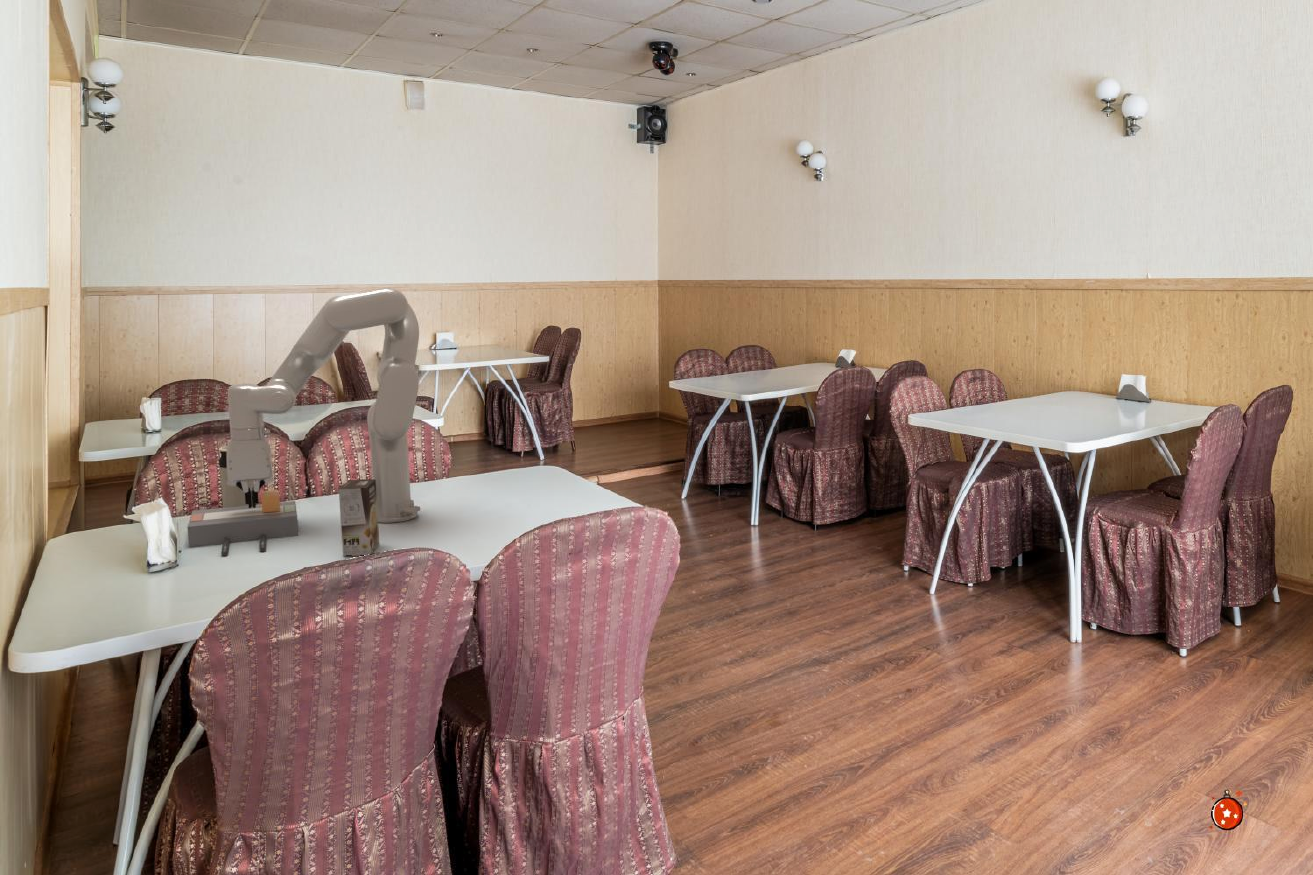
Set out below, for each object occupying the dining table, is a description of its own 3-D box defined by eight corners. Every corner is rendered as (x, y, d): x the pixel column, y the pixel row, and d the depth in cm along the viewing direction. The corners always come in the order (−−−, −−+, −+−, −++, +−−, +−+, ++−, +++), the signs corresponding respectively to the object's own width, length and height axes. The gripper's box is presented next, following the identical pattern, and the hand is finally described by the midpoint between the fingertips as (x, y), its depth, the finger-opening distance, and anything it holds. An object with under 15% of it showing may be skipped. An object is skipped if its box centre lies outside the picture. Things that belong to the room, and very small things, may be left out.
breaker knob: (279, 505, 225) (278, 489, 224) (280, 510, 219) (278, 495, 218) (262, 506, 223) (261, 491, 222) (262, 512, 218) (261, 496, 217)
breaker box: (296, 519, 231) (295, 500, 231) (300, 547, 207) (298, 526, 206) (194, 529, 222) (192, 510, 221) (185, 561, 197) (182, 539, 196)
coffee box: (371, 556, 201) (366, 487, 198) (342, 556, 200) (337, 488, 197) (380, 544, 210) (376, 478, 207) (352, 544, 209) (348, 479, 206)
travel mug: (240, 517, 234) (234, 451, 231) (217, 514, 236) (210, 449, 233) (262, 509, 241) (257, 445, 238) (239, 507, 244) (233, 443, 240)
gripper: (280, 430, 222) (284, 500, 226) (214, 433, 216) (219, 505, 220) (280, 435, 216) (285, 507, 219) (212, 438, 210) (218, 513, 213)
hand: (252, 506), depth 219 cm, fingers closed
